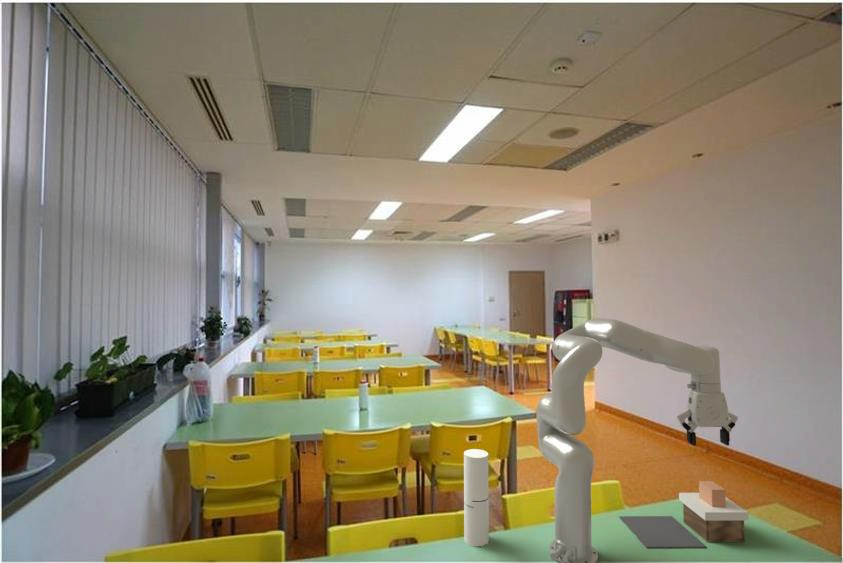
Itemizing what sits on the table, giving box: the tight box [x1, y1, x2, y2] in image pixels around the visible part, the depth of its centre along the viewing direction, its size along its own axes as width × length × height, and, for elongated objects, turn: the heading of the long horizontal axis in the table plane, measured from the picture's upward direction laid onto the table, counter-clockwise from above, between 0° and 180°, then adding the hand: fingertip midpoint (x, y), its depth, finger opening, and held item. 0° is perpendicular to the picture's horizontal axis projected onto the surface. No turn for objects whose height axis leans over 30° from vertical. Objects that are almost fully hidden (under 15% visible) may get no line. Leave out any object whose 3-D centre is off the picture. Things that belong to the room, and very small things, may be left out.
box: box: [682, 503, 745, 543], centre depth 132 cm, size 11×11×8 cm
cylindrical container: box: [463, 448, 490, 547], centre depth 128 cm, size 7×7×25 cm
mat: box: [618, 515, 707, 549], centre depth 132 cm, size 17×17×1 cm
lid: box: [678, 480, 750, 521], centre depth 132 cm, size 13×13×7 cm
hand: (708, 444), depth 133 cm, fingers open, 9 cm apart
